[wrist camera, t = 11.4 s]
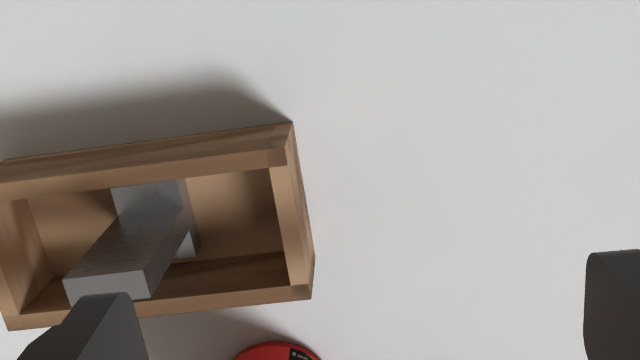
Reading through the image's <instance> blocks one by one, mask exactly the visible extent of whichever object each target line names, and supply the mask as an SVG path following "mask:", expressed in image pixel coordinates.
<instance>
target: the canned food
mask: <svg viewBox="0 0 640 360" xmlns="http://www.w3.org/2000/svg"><path fill="white" fill-rule="evenodd" d="M233 360H321V359H320V358H319V357H318V356H316V355H315V354H313V353H312V352H311V351H309V350H307V349H305V348H303V347H301V346H298V345H295V344H291V343H285V342H266V343H261V344H257V345H254V346H252V347H249V348H247V349H246V350H244V351H242V352H241V353H240V354H238V355H237V356H236V357H235V358H234V359H233Z"/></svg>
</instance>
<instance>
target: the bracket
mask: <svg viewBox="0 0 640 360" xmlns="http://www.w3.org/2000/svg"><path fill="white" fill-rule="evenodd" d="M110 190H111V193H112V197H113V200H114V204H115V207H116V210H117V214H118V217H117V218H116V219H115V220H114V221H113V222H112V223H111V225H110V226H109V227H108V228H107V229H106V230H105V231H104V233H103V234H102V235H101V236H100V237H99V238H98V239H97V240H96V242H95V243H94V244H93V245H92V246H91V247H90V248H89V250H88V251H87V252H86V253H85V254H84V255H83V256H82V258H81V259H80V260H79V261H78V262H77V263H76V264H75V265H74V267H73V268H72V269H71V270H70V271H69V272H68V273H67V275H66V276H65V277H64V278H63V279H62V282H63V285H64V288H65V291H66V294H67V296H68V299H69V302H70V305H71V307H73V306H74V305H75V304H76V302H77V301H78V300H79V298H80V297H82V296H84V295H92V294H104V293H115V292H126V293H128V294H129V295H130V297H131V299H132V300H135V299H144V298H151V296H152V295H153V293H154V291H155V289H156V288H157V286H158V284H159V282H160V281H161V279H162V277H163V275H164V274H165V272H166V270H167V268H168V267H169V265H170V263H171V261H172V260H173V259H179V258H187V257H195V256H196V255H197V253H198V251H199V249H200V247H201V241H200V237H199V233H198V229H197V225H196V221H195V217H194V213H193V209H192V205H191V201H190V197H189V193H188V189H187V185H186V181H185V178H184V179H176V180H168V181H160V182H152V183H144V184H137V185H129V186H121V187H113V188H110Z"/></svg>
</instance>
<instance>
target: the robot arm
mask: <svg viewBox="0 0 640 360" xmlns="http://www.w3.org/2000/svg"><path fill="white" fill-rule="evenodd" d="M583 337H584V345H585V350H586V354H587V357H588V360H640V250H639V249H631V250H620V251H608V252H596V253H591V254H590V255H589V257H588V259H587V264H586V281H585V301H584V322H583ZM17 360H149V358H148V354H147V351H146V347H145V344H144V340H143V336H142V333H141V329H140V325H139V322H138V318H137V315H136V311H135V307H134V304H133V301H132V299H131V297H130V295H129V294H128V293H126V292H115V293H104V294H92V295H84V296H82V297H80V298H79V300H78V301H77V302H76V304H75V305H74V306H73V308H72V309H71V310H70V312H69V313H68V314H67V316H66V317H65V318H64V320H63V321H62V322H61V324H60V325H54V326H53V327H51V328H50V329H49V330H47V331H46V332H45V333H43V334H42V335H41V336H39V337H38V338H37V339H35V340H34V341H33V342H31V343H30V344H29V345H28V346H27V347H26V348H25V350H24V351H23V352H22V353H21V355H20V356H19V357H18V359H17Z"/></svg>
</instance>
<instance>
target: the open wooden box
mask: <svg viewBox="0 0 640 360" xmlns="http://www.w3.org/2000/svg"><path fill="white" fill-rule="evenodd" d="M184 178H185V181H186V185H187V189H188V193H189V197H190V201H191V205H192V209H193V213H194V217H195V221H196V225H197V229H198V233H199V237H200V241H201V247H200V249H199V251H198V253H197V255H196V256H195V257H187V258H179V259H173V260H172V261H171V263H170V265H169V267H168V268H167V270H166V272H165V274H164V275H163V277H162V279H161V281H160V282H159V284H158V286H157V288H156V289H155V291H154V293H153V295H152V296H151V298H144V299H135V300H132V301H133V304H134V307H135V311H136V315H137V318H139V317H149V316H158V315H167V314H177V313H186V312H196V311H205V310H214V309H224V308H233V307H243V306H252V305H261V304H271V303H280V302H290V301H299V300H309V299H311V296H312V286H313V276H314V266H315V252H314V246H313V240H312V234H311V228H310V222H309V216H308V210H307V204H306V198H305V192H304V186H303V180H302V174H301V168H300V162H299V156H298V150H297V144H296V138H295V132H294V126H293V122H286V123H279V124H271V125H264V126H256V127H249V128H241V129H234V130H226V131H219V132H211V133H204V134H196V135H189V136H181V137H174V138H166V139H159V140H151V141H144V142H136V143H129V144H121V145H114V146H106V147H98V148H91V149H83V150H76V151H68V152H61V153H53V154H46V155H38V156H31V157H23V158H16V159H8V160H3V161H2V162H0V311H1V314H2V316H3V319H4V322H5V324H6V327H7V329H8V331H17V330H26V329H36V328H45V327H53V326H54V325H60V324H61V322H62V321H63V320H64V318H65V317H66V316H67V314H68V313H69V312H70V310H71V309H72V308H73V307H71V305H70V302H69V299H68V296H67V294H66V291H65V288H64V285H63V282H62V279H63V278H64V277H65V276H66V275H67V273H68V272H69V271H70V270H71V269H72V268H73V267H74V265H75V264H76V263H77V262H78V261H79V260H80V259H81V258H82V256H83V255H84V254H85V253H86V252H87V251H88V250H89V248H90V247H91V246H92V245H93V244H94V243H95V242H96V240H97V239H98V238H99V237H100V236H101V235H102V234H103V233H104V231H105V230H106V229H107V228H108V227H109V226H110V225H111V223H112V222H113V221H114V220H115V219H116V218H117V217H118V214H117V210H116V207H115V204H114V200H113V197H112V193H111V190H110V188H113V187H121V186H129V185H137V184H144V183H152V182H160V181H168V180H176V179H184Z"/></svg>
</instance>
